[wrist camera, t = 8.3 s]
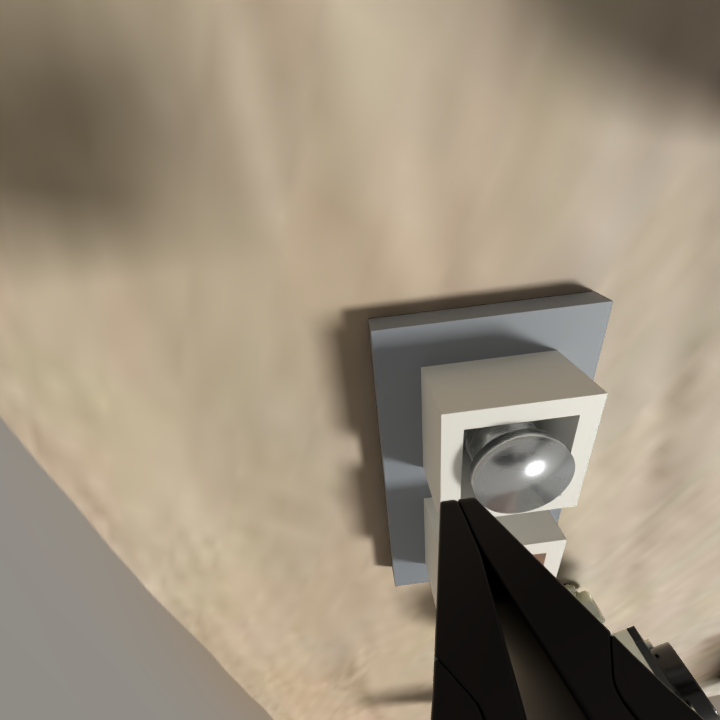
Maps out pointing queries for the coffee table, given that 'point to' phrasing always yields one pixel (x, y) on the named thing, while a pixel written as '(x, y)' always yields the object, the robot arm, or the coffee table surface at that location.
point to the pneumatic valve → (658, 662)
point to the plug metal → (517, 466)
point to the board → (481, 410)
